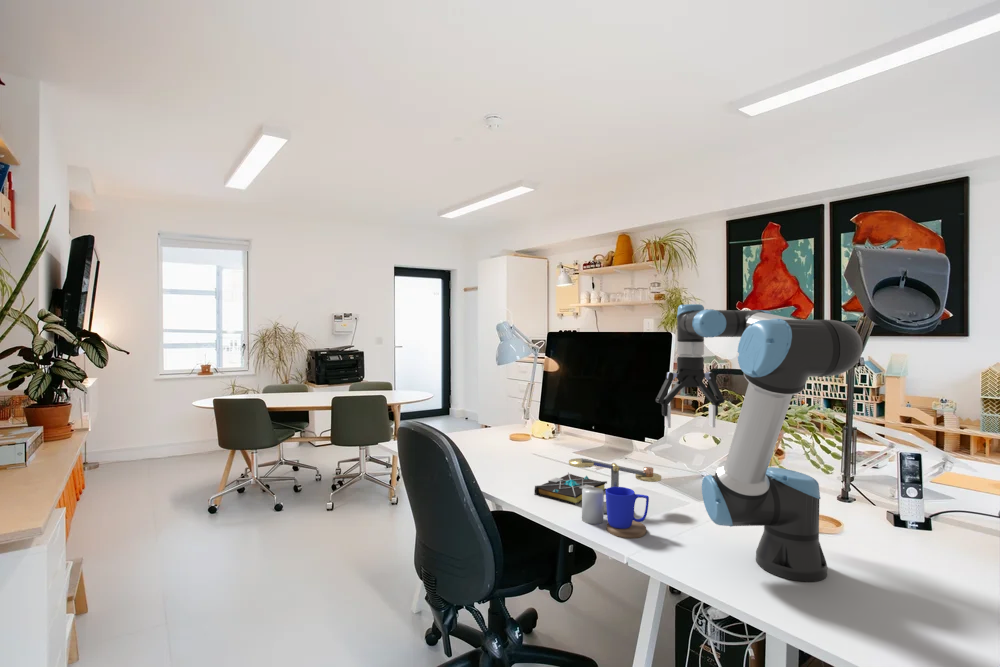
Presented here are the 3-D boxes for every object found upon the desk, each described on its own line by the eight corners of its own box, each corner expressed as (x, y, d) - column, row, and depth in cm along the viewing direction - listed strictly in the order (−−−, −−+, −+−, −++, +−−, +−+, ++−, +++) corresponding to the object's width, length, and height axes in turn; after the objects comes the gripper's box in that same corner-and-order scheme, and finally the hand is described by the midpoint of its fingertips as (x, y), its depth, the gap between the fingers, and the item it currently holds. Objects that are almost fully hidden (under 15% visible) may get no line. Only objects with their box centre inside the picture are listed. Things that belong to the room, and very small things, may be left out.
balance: (664, 513, 161) (665, 461, 160) (570, 514, 160) (571, 462, 160) (656, 504, 169) (656, 455, 168) (566, 505, 168) (566, 455, 167)
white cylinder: (605, 524, 152) (605, 493, 152) (584, 524, 152) (584, 494, 152) (600, 516, 158) (601, 487, 158) (580, 516, 158) (580, 487, 158)
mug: (649, 533, 142) (650, 497, 142) (605, 529, 144) (605, 494, 144) (647, 522, 150) (647, 488, 150) (605, 519, 152) (605, 485, 152)
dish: (651, 538, 142) (651, 533, 142) (611, 538, 142) (612, 534, 142) (639, 522, 153) (639, 518, 153) (602, 523, 153) (602, 519, 152)
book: (567, 481, 195) (567, 468, 195) (607, 491, 184) (607, 477, 184) (533, 495, 178) (533, 481, 178) (575, 507, 167) (575, 491, 167)
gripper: (724, 355, 158) (724, 424, 158) (645, 355, 157) (644, 424, 157) (737, 356, 151) (736, 428, 151) (654, 356, 149) (653, 429, 149)
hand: (689, 426), depth 154 cm, fingers open, 13 cm apart
